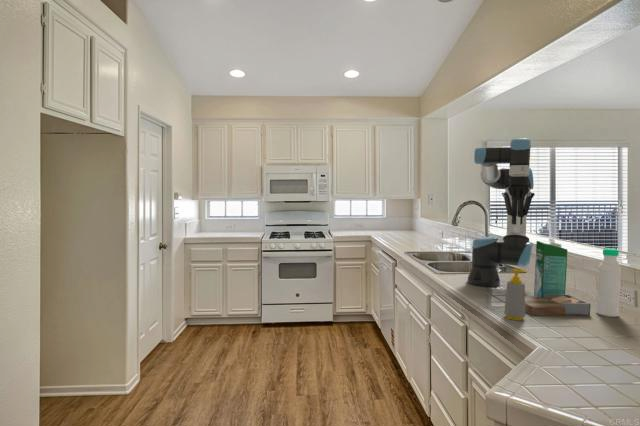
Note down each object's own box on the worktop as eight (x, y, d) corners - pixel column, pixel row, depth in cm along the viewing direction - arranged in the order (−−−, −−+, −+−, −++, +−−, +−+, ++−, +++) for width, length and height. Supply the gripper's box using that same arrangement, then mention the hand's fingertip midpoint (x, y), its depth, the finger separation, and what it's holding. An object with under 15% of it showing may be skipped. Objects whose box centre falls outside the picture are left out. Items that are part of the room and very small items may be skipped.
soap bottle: (518, 322, 137) (520, 272, 136) (500, 316, 142) (502, 268, 141) (529, 319, 140) (531, 270, 139) (510, 313, 146) (513, 266, 145)
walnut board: (513, 303, 160) (513, 296, 160) (542, 304, 160) (542, 296, 159) (532, 315, 145) (533, 307, 145) (564, 315, 145) (565, 307, 144)
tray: (543, 304, 159) (544, 294, 158) (568, 305, 159) (568, 294, 158) (563, 314, 146) (563, 303, 145) (589, 315, 146) (590, 303, 145)
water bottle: (612, 318, 142) (616, 251, 141) (591, 313, 149) (595, 248, 147) (622, 315, 146) (626, 249, 144) (601, 310, 152) (605, 247, 150)
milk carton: (564, 303, 161) (567, 243, 159) (541, 302, 163) (543, 243, 161) (556, 297, 170) (559, 241, 168) (533, 296, 171) (536, 240, 170)
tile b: (571, 297, 154) (573, 301, 154) (559, 302, 154) (561, 306, 154) (579, 300, 149) (581, 305, 149) (567, 306, 149) (569, 310, 149)
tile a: (551, 303, 154) (550, 299, 154) (564, 300, 154) (562, 295, 154) (559, 307, 149) (558, 302, 149) (572, 304, 149) (570, 299, 149)
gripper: (507, 175, 158) (505, 233, 160) (539, 175, 158) (536, 233, 160) (499, 176, 166) (496, 231, 167) (529, 176, 166) (527, 231, 167)
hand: (516, 232), depth 163 cm, fingers closed
